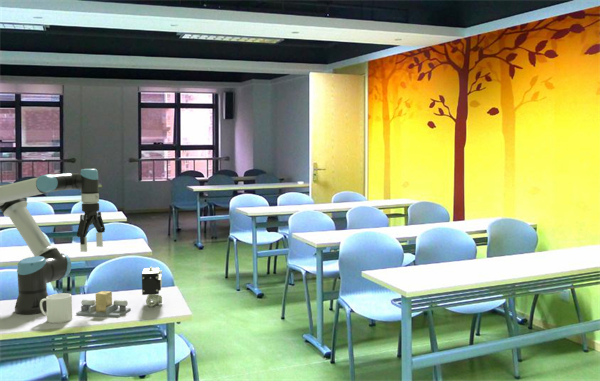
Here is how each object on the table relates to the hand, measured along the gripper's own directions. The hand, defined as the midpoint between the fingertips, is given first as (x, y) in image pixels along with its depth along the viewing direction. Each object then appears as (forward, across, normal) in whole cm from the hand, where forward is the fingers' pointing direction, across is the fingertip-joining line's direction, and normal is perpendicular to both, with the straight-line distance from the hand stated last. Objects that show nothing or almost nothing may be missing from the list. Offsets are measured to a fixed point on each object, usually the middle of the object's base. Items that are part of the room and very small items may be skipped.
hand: (91, 249), depth 270 cm
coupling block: (+26, -9, -10) cm, 29 cm away
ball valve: (+27, +7, -26) cm, 38 cm away
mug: (+27, -23, +4) cm, 36 cm away
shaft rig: (+27, -9, -10) cm, 30 cm away
